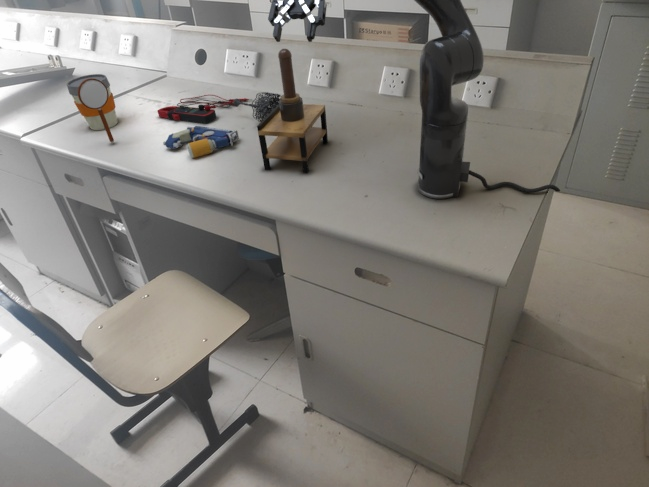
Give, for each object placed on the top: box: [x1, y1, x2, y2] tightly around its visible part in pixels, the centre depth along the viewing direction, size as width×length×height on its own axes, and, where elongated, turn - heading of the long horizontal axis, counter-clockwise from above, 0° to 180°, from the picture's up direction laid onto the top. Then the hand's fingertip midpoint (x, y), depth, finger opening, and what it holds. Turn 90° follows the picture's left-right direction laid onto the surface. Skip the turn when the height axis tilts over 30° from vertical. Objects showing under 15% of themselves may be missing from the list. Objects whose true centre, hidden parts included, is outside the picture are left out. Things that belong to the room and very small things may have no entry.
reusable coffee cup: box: [66, 73, 118, 131], centre depth 150 cm, size 13×13×15 cm
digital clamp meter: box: [157, 94, 253, 125], centre depth 157 cm, size 23×4×25 cm
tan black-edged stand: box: [256, 103, 329, 174], centre depth 121 cm, size 12×18×12 cm, turn 162°
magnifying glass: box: [78, 78, 115, 145], centre depth 135 cm, size 9×2×20 cm, turn 139°
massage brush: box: [233, 91, 282, 123], centre depth 143 cm, size 9×22×9 cm, turn 56°
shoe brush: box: [277, 48, 304, 122], centre depth 113 cm, size 6×6×17 cm
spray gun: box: [162, 125, 240, 159], centre depth 133 cm, size 21×4×15 cm
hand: (292, 40), depth 112 cm, fingers open, 8 cm apart
